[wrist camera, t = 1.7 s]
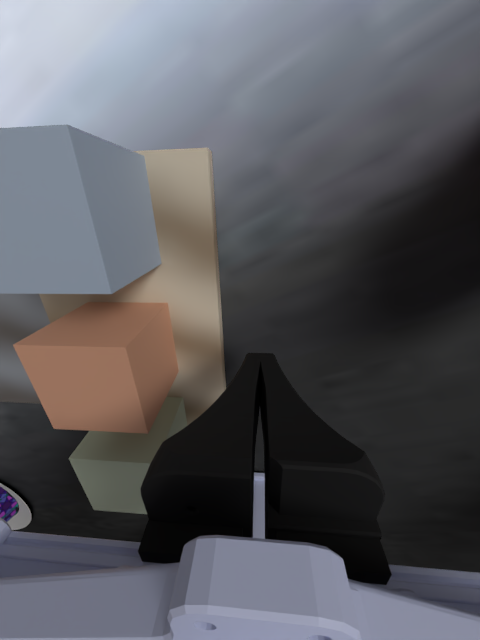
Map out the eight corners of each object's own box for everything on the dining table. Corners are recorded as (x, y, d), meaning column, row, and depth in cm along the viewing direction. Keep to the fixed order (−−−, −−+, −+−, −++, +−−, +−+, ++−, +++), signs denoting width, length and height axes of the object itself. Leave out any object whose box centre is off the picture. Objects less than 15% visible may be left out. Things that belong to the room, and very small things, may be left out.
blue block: (161, 263, 13) (111, 294, 9) (76, 264, 14) (-13, 293, 9) (144, 155, 11) (67, 124, 7) (43, 160, 12) (-91, 133, 7)
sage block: (190, 444, 20) (169, 516, 15) (131, 441, 20) (93, 509, 16) (183, 397, 18) (156, 463, 13) (116, 394, 18) (68, 458, 14)
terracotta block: (178, 371, 17) (148, 433, 12) (108, 369, 17) (54, 428, 13) (167, 302, 14) (125, 347, 10) (87, 302, 15) (12, 344, 10)
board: (229, 437, 20) (227, 448, 20) (-1, 425, 22) (-12, 435, 21) (211, 151, 12) (207, 147, 11) (-161, 168, 14) (-191, 165, 13)
